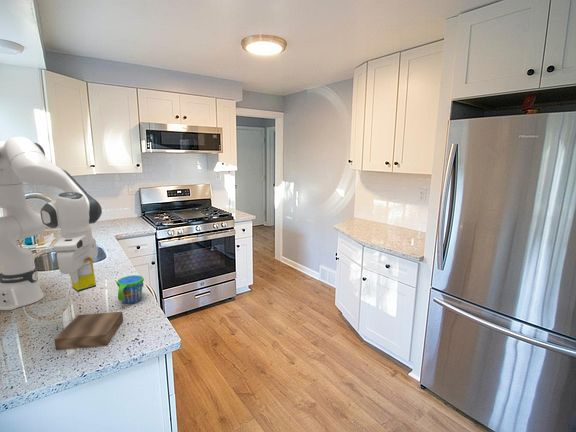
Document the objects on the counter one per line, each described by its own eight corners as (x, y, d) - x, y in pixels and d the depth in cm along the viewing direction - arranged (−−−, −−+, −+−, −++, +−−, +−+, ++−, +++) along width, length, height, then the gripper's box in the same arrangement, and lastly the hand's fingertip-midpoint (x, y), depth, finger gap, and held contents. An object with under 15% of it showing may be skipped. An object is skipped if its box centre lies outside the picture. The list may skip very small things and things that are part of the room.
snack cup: (134, 291, 147) (132, 272, 145) (153, 294, 145) (151, 273, 143) (109, 307, 132) (106, 285, 130) (130, 310, 130) (127, 287, 128)
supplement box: (90, 282, 114) (86, 254, 112) (96, 287, 110) (92, 258, 108) (71, 288, 110) (67, 259, 108) (77, 292, 106) (72, 262, 104)
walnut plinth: (56, 349, 104) (54, 339, 103) (79, 324, 119) (77, 315, 118) (107, 345, 106) (105, 334, 105) (123, 320, 122) (122, 311, 121)
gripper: (81, 232, 116) (86, 267, 119) (50, 247, 96) (57, 289, 99) (99, 231, 117) (104, 265, 120) (72, 246, 97) (79, 287, 100)
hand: (83, 276), depth 109 cm, fingers closed on supplement box, 8 cm apart
